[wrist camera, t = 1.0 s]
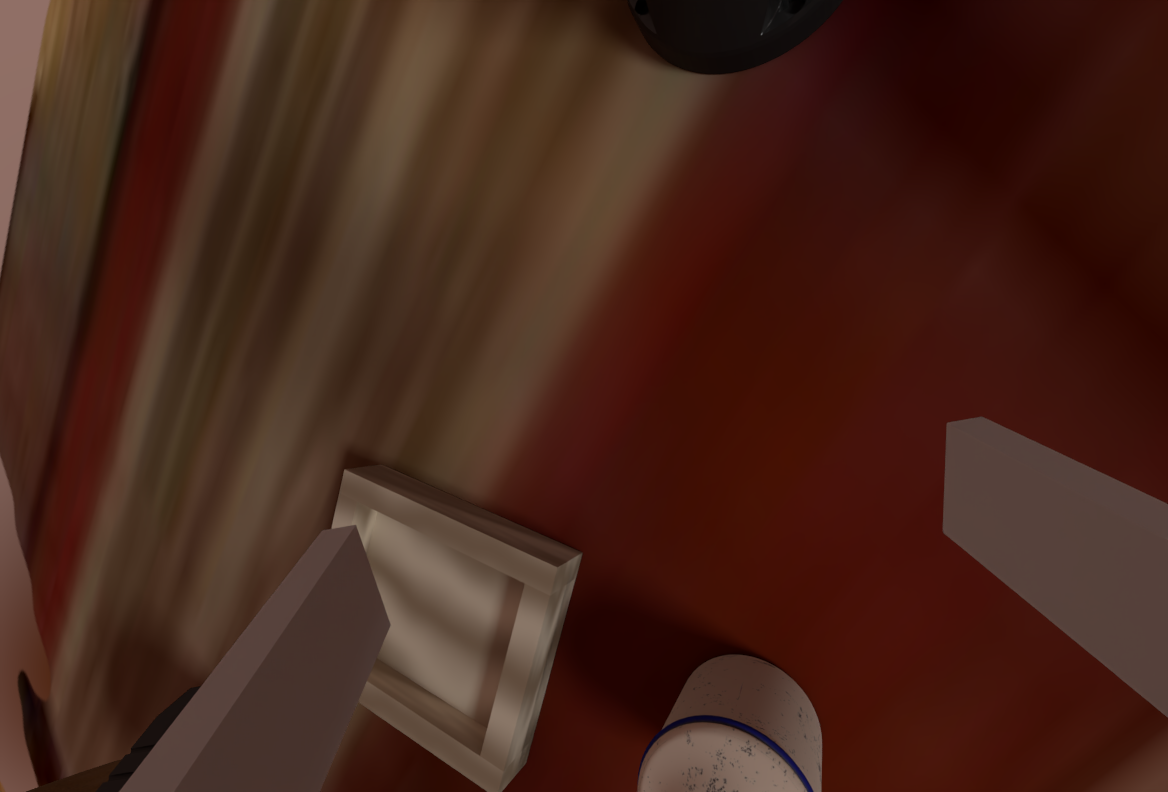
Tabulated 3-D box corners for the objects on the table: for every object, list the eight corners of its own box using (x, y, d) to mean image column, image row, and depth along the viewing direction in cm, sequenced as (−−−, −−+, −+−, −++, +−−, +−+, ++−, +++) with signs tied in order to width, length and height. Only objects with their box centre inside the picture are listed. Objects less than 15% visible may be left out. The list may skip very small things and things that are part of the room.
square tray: (381, 464, 48) (344, 469, 44) (582, 552, 40) (557, 567, 36) (340, 643, 49) (301, 662, 46) (525, 763, 41) (496, 797, 38)
